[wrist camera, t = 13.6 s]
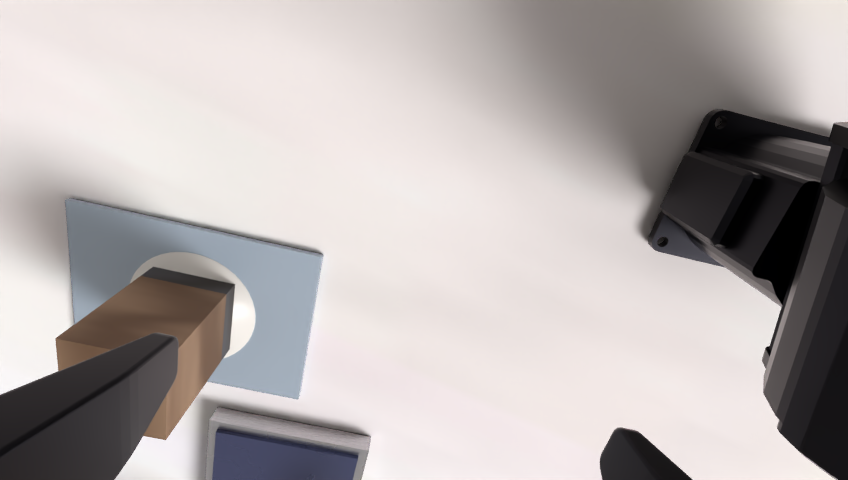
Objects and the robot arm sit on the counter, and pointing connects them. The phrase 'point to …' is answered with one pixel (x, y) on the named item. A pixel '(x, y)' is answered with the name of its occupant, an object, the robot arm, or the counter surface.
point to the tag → (214, 259)
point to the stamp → (160, 313)
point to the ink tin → (280, 449)
